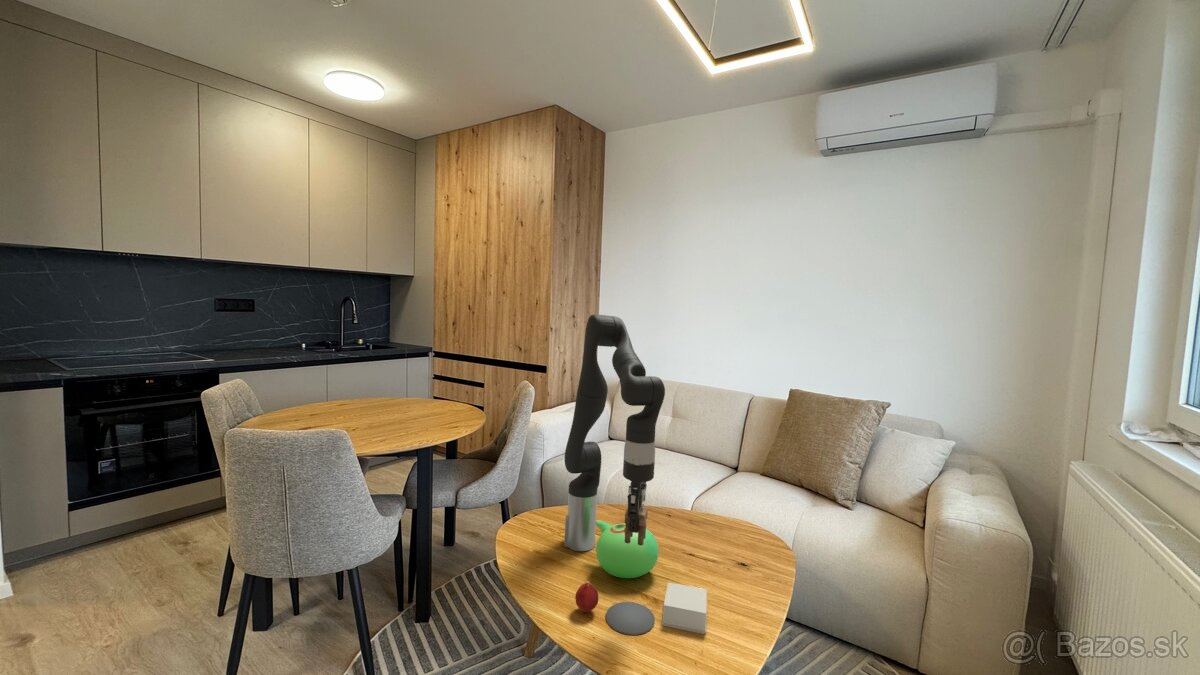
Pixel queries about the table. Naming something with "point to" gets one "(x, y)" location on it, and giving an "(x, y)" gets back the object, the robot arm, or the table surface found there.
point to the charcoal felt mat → (630, 618)
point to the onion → (586, 597)
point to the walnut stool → (641, 526)
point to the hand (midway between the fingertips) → (635, 526)
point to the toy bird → (625, 551)
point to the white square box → (685, 608)
